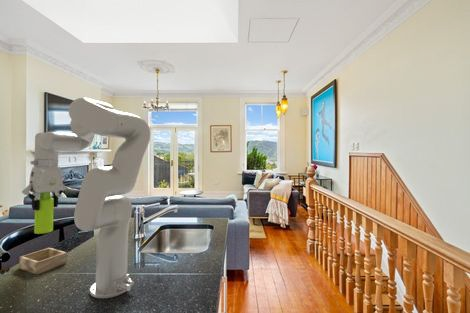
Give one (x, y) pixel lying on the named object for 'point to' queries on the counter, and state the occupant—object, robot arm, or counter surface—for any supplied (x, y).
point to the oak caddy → (42, 260)
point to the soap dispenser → (44, 214)
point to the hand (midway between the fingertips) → (45, 207)
